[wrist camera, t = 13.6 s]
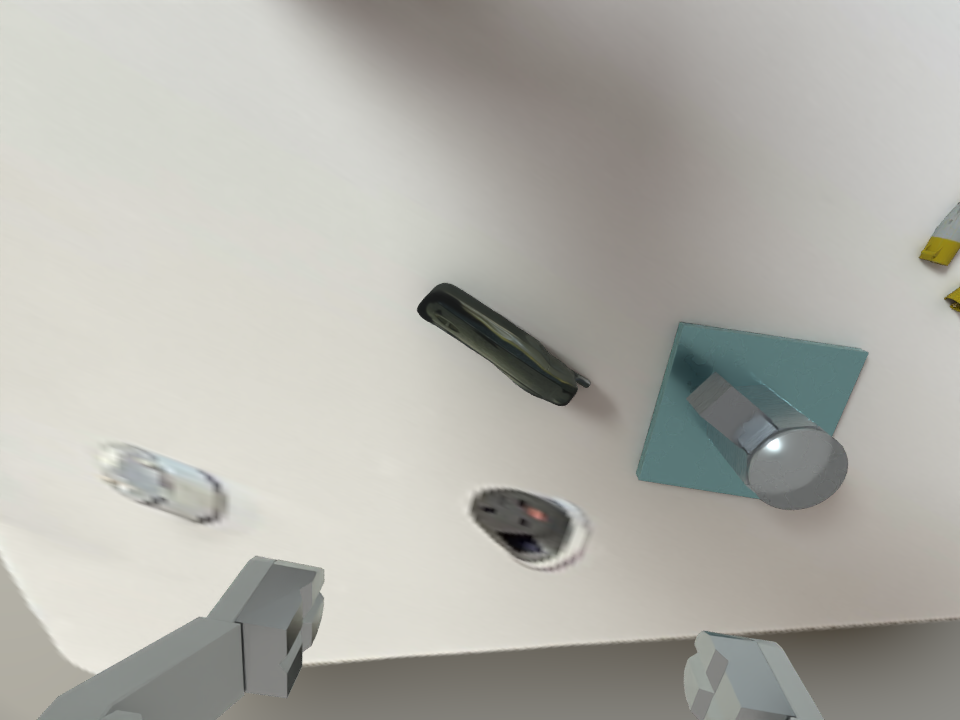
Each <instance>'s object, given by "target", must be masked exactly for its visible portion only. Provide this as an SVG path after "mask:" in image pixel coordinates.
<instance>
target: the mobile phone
mask: <svg viewBox="0 0 960 720" xmlns="http://www.w3.org/2000/svg"><path fill="white" fill-rule="evenodd" d="M417 312H418V313H419V315H420V316H421V317H422V318H423V319H425V320H426V321H428V322H430V323H432V324H434V325H435V326H437V327H439V328H440V329H442V330H443V331H445V332H446V333H448V334H450V335H451V336H453V337H454V338H456V339H457V340H459V341H460V342H462V343H463V344H464V345H466V346H467V347H469V348H470V349H472V350H474V351H475V352H477V353H478V354H480V355H481V356H483V357H484V358H486V359H487V360H489V361H490V362H491V363H493V364H494V365H495V366H496V367H497V368H498V369H499V370H501V371H502V372H503V373H504V374H505V375H507V376H508V377H509V378H510V379H511V380H512V381H513V382H514V383H515V384H516V385H518V386H519V387H520V388H522V389H523V390H525V391H526V392H528V393H530V394H531V395H533V396H536V397H538V398H541V399H544V400H546V401H549V402H551V403H553V404H555V405H558V406H565V405H567V404H568V403H569V402H570V401H571V399H572V398H573V397H574V395H575V394H576V392H577V390H578V388H577V383H578V384H580V385H582V386H583V387H585V388H588V387H589V386H590V384H591V383H590V381H589V380H587V379H586V378H584V377H582V376H581V375H579V374H577V373H575V372H574V371H572V370H570V369H569V368H568V367H567V366H566V365H565V364H563V363H562V362H561V361H559V360H558V359H556V358H555V357H553V356H552V355H550V354H549V353H548V352H547V351H546V349H545V348H544V347H543V346H542V344H541V343H540V342H539V341H537V340H536V339H535V338H533V337H532V336H530V335H529V334H527V333H526V332H524V331H523V330H521V329H519V328H518V327H516V326H515V325H514V324H512V323H511V322H509V321H508V320H507V319H505V318H504V317H502V316H501V315H499V314H498V313H496V312H495V311H493V310H491V309H490V308H488V307H487V306H485V305H484V304H482V303H481V302H479V301H478V300H476V299H475V298H473V297H472V296H470V295H469V294H467V293H466V292H464V291H463V290H461V289H459V288H458V287H456V286H454V285H452V284H449V283H442V284H439V285H437V286H436V287H435V288H434V289H433V290H432V291H431V292H430V293H429V294H428V295H427V296H426V297H425V298H424V299H423V300H422V301H421V303H420V304H419V306H418V308H417ZM576 382H577V383H576Z"/></svg>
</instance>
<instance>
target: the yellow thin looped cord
mask: <svg viewBox="0 0 960 720" xmlns="http://www.w3.org/2000/svg"><path fill="white" fill-rule="evenodd" d="M959 248H960V202H959V203H958V205H957V206H956V207H955V208H954V209H953V210H952V211H951V212H950V213H949V214H948V215H947V216H946V218H945V219H944V220H943V221H942V222H941V224H940V225H939V226H938V227H937V228H936V230H935V232H934V233H933V235H932V237H931V238H930V240H929V242H928V243H927V245H926V247H925V248H924V250H923V251H922V252H921V255H920V257H919V258H921V259H924V260H929V261H931V262H934V263H937V264H941V265H946V266H948V265H949V263H950V262H951V260H952V259H953V257H954V256H955V254H956V253H957V251H958V250H959ZM947 298H950V299H953V300H955V301H956V302H955V303H953V304H952V305H950V307H951V308H952V309H954V310H956V311H959V312H960V287H959V288H958V289H956V290H955V291H954V292H952V293H951V294H949V295H948V296H947V297H945V298H944V299H947Z"/></svg>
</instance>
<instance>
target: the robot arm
mask: <svg viewBox="0 0 960 720" xmlns="http://www.w3.org/2000/svg"><path fill="white" fill-rule="evenodd" d="M323 584H324V569H322V568H319V567H314V566H309V565H304V564H299V563H293V562H288V561H283V560H276V559H270V558H265V557H260V556H255V557H253V558H252V559H250V560H249V561H248V562H247V564H246V565H245V566H244V568H243V569H242V570H241V572H240V573H239V574H238V576H237V577H236V578H235V580H234V581H233V582H232V584H231V585H230V586H229V588H228V589H227V591H226V592H225V593H224V595H223V596H222V597H221V599H220V600H219V601H218V603H217V604H216V605H215V607H214V608H213V609H212V611H211V612H210V613H209V615H208V616H207V617H206V618H205V617H198V618H196V619H194V620H193V621H191V622H189V623H187V624H185V625H184V626H182V627H180V628H178V629H177V630H175V631H173V632H171V633H170V634H168V635H166V636H164V637H162V638H161V639H159V640H157V641H155V642H154V643H152V644H150V645H148V646H147V647H145V648H143V649H141V650H139V651H138V652H136V653H134V654H132V655H131V656H129V657H127V658H125V659H124V660H122V661H120V662H118V663H116V664H115V665H113V666H111V667H109V668H108V669H106V670H104V671H102V672H101V673H99V674H97V675H95V676H93V677H92V678H90V679H88V680H86V681H85V682H83V683H81V684H79V685H78V686H76V687H74V688H72V689H71V690H69V691H67V692H65V693H63V694H62V695H60V696H58V697H57V698H56V700H54V702H53V703H52V704H51V705H50V706H49V707H48V708H47V709H46V710H45V711H44V713H42V715H41V716H40V717H39V718H38V719H37V720H216V719H217V718H218V717H220V716H221V715H222V714H223V713H224V712H225V711H226V710H228V709H229V708H230V707H231V706H232V705H233V704H235V703H236V702H237V701H238V700H239V699H240V698H241V697H243V696H244V692H247V693H253V694H260V695H268V696H275V697H282V698H287V697H288V695H289V693H290V691H291V689H292V687H293V685H294V682H295V680H296V678H297V676H298V674H299V672H300V670H301V667H302V652H304V651H305V650H306V649H308V648H309V647H310V646H312V643H313V641H314V639H315V637H316V634H317V632H318V628H319V625H320V622H321V619H322V613H323V607H324V597H323V596H322V594H321V593H320V590H321V588H322V586H323ZM695 647H696V649H697V652H698V653H696V654H695V655H693V656H692V657H690V658H689V659H688V661H687V664H686V667H685V670H684V688H685V695H686V699H687V702H688V705H689V709H690V711H691V712H692V713H693V714H694V715H695V716H696V718H697V719H698V720H824V718H823V716H822V715H821V713H820V711H819V710H818V708H817V706H816V704H815V703H814V701H813V699H812V698H811V696H810V694H809V693H808V691H807V689H806V688H805V686H804V684H803V682H802V681H801V679H800V677H799V676H798V674H797V672H796V671H795V669H794V667H793V666H792V664H791V662H790V661H789V659H788V657H787V655H786V654H785V652H784V650H783V649H782V648H781V646H780V645H778V644H777V643H776V642H772V641H766V640H759V639H753V638H750V639H749V638H747V637H741V636H734V635H728V634H721V633H715V632H708V631H702V632H700V633H699V634H698V635H697V638H696V640H695Z"/></svg>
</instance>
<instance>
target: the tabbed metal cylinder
mask: <svg viewBox="0 0 960 720" xmlns="http://www.w3.org/2000/svg"><path fill="white" fill-rule="evenodd" d="M686 399H687V401H688V402H689V403H690V404H691V405H692V407H693V408H694V409H695V410H696V411H697V413H698V414H699V415H700V416H701V417H702V418H704V419H705V420H706V421H707V436H708V438H709V439H710V441H711V442H712V443H713V444H714V446H715V447H716V448H717V449H718V451H719V452H720V453H721V454H722V456H723V457H724V458H725V460H726V461H727V462H728V463H729V465H730V466H731V467H732V468H733V470H734V471H735V472H736V474H737V475H738V476H739V477H740V479H741V480H742V481H743V482H744V484H745V485H746V486H747V487H748V488H749V489H751V490H752V491H753V492H754V493H756V495H757V496H758V497H759V498H760V499H761V500H762V501H763V502H765V503H766V504H768V505H770V506H773V507H775V508H779V509H785V510H798V509H804V508H808V507H811V506H814V505H817V504H819V503H821V502H823V501H824V500H826V499H827V498H829V497H830V496H831V495H832V494H834V493H835V492H836V490H837V489H838V488H839V487H840V486H841V484H842V482H843V481H844V479H845V476H846V474H847V469H848V459H847V455H846V452H845V450H844V448H843V446H842V445H841V444H840V443H839V442H838V441H837V440H835V439H834V438H833V437H831V436H830V435H829V434H828V433H827V432H825V431H824V430H823V429H822V428H821V427H820V426H818V425H817V424H816V423H814V422H813V421H812V420H811V419H809V418H808V417H807V416H805V415H804V414H803V413H801V412H800V411H799V410H797V409H796V408H795V407H794V406H792V405H791V404H790V403H788V402H787V401H786V400H784V399H783V398H782V397H780V396H779V395H778V394H777V393H775V392H774V391H773V390H771V389H770V388H769V387H767V386H766V385H751V386H738V387H733V386H732V385H731V384H730V383H729V382H727V381H726V380H725V379H724V378H723V377H721V376H720V375H719V374H718V373H717V372H716V371H715V372H714V373H713V374H712V375H710V376H709V377H708V378H707V379H706V380H705V381H704V382H703V383H702V384H701V385H700V386H699V387H698V388H697V389H696V390H694V391H693V392H692V393H691V394H690V395H689V396H688V397H687V398H686Z"/></svg>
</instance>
